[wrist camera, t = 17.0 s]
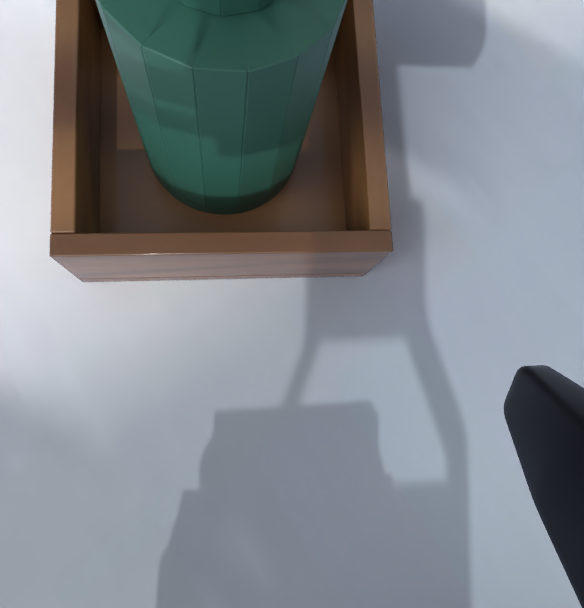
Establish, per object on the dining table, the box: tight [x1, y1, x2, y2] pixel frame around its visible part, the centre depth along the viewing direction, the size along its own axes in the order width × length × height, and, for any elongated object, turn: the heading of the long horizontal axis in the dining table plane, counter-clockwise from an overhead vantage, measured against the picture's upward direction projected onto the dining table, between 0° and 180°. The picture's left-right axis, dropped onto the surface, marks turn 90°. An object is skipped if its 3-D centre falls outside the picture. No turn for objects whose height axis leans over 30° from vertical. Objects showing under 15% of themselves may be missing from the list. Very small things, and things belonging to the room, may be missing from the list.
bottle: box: [95, 0, 347, 215], centre depth 16 cm, size 6×6×13 cm
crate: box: [50, 0, 393, 282], centre depth 21 cm, size 12×12×4 cm
